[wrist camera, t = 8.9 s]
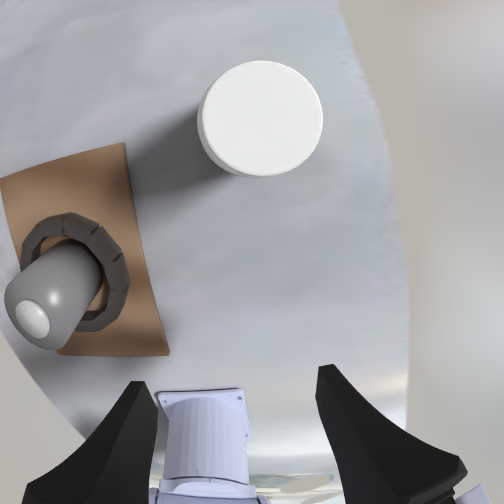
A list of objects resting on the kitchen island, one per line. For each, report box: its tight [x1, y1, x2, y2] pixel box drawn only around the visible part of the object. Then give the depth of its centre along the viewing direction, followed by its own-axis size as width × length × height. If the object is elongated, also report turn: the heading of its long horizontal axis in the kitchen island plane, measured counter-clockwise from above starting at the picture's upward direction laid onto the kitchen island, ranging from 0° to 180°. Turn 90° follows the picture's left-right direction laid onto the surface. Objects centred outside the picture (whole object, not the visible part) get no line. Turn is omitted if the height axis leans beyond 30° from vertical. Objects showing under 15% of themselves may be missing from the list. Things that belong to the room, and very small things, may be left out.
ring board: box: [0, 143, 170, 357], centre depth 18 cm, size 16×11×2 cm
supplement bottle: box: [197, 61, 323, 178], centre depth 12 cm, size 5×5×8 cm
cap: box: [4, 239, 104, 350], centre depth 15 cm, size 5×5×6 cm
